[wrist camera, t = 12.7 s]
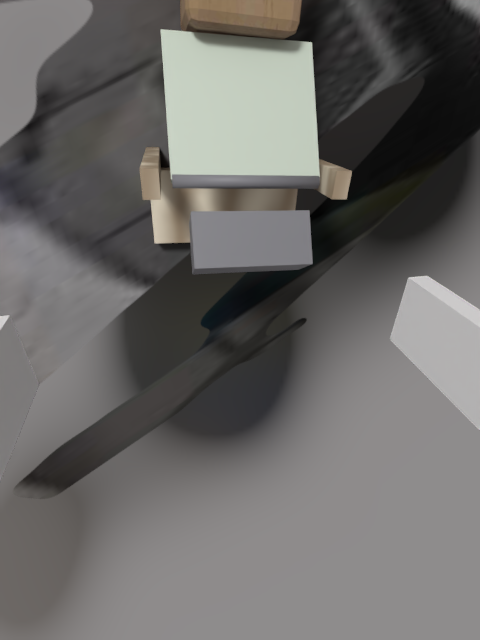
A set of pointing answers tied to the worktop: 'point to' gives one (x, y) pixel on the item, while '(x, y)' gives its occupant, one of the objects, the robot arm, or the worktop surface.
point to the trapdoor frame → (219, 197)
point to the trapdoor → (242, 143)
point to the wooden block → (241, 17)
